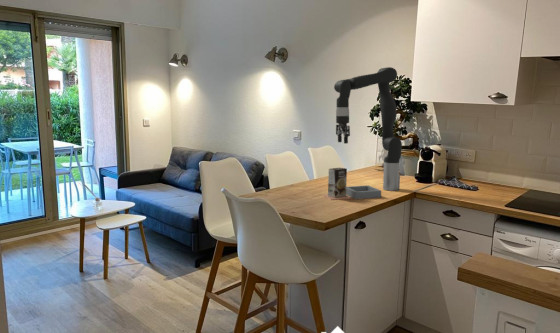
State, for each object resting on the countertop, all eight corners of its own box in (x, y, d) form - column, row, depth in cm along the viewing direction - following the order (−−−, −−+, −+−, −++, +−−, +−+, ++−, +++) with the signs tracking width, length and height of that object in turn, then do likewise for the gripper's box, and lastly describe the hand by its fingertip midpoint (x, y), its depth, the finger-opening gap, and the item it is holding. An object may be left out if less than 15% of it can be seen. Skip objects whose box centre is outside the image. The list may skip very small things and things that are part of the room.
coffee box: (335, 197, 236) (335, 169, 233) (327, 195, 241) (327, 168, 238) (346, 195, 241) (347, 168, 239) (338, 193, 246) (339, 167, 244)
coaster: (342, 194, 248) (342, 193, 248) (350, 198, 237) (350, 197, 237) (323, 195, 245) (323, 194, 245) (331, 199, 234) (331, 198, 234)
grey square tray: (368, 191, 255) (368, 185, 254) (380, 197, 240) (381, 190, 239) (344, 193, 251) (344, 186, 250) (355, 199, 236) (355, 192, 235)
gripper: (353, 115, 236) (353, 143, 239) (343, 114, 250) (343, 141, 253) (341, 115, 234) (342, 144, 237) (331, 115, 248) (332, 142, 250)
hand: (342, 142), depth 245 cm, fingers open, 8 cm apart
